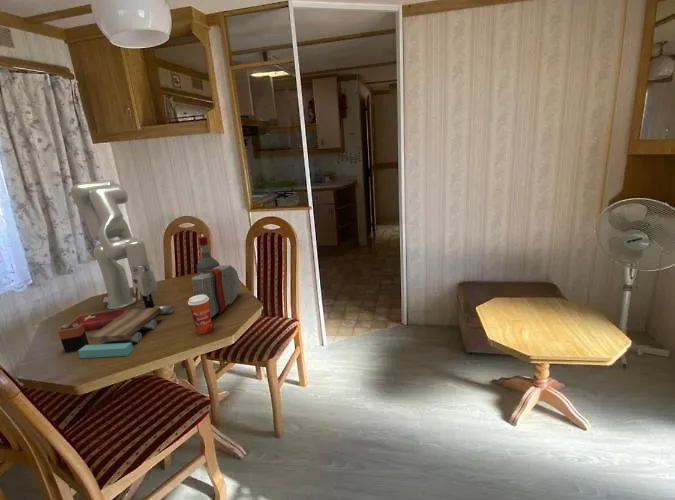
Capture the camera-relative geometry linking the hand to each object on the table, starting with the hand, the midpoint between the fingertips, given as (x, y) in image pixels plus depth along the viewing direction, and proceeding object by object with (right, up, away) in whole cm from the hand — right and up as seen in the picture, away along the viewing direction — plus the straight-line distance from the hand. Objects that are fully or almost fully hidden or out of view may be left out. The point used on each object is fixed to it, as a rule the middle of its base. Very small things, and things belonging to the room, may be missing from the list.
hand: (150, 307), depth 160 cm
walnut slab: (-1, -5, -15) cm, 16 cm away
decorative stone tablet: (+31, -1, +4) cm, 31 cm away
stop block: (-1, -12, -28) cm, 30 cm away
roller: (-1, -10, -20) cm, 22 cm away
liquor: (+22, +2, +19) cm, 29 cm away
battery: (-17, -12, -21) cm, 30 cm away
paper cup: (+30, -7, -17) cm, 35 cm away
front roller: (0, -7, -9) cm, 12 cm away
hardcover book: (-21, -8, 0) cm, 22 cm away
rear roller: (+1, -4, +4) cm, 6 cm away
